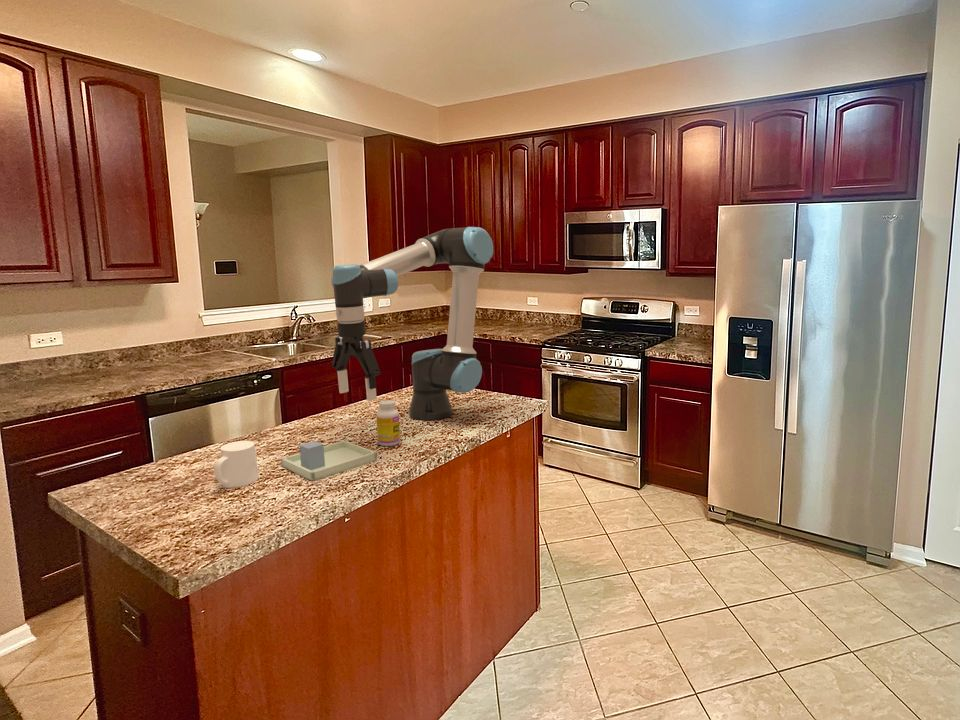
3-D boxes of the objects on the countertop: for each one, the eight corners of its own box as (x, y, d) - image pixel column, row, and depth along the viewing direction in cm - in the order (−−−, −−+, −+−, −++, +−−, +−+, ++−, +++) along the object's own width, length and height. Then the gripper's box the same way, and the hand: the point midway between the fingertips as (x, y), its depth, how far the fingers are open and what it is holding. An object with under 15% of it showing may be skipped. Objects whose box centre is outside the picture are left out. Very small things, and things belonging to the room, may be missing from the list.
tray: (344, 447, 170) (344, 440, 170) (377, 459, 159) (376, 452, 159) (281, 466, 156) (280, 458, 156) (312, 481, 145) (311, 473, 145)
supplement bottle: (395, 447, 169) (393, 405, 167) (374, 446, 171) (372, 404, 168) (403, 440, 176) (401, 399, 173) (382, 439, 177) (380, 398, 175)
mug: (240, 438, 151) (263, 441, 148) (243, 472, 153) (266, 476, 149) (202, 453, 140) (226, 457, 137) (206, 489, 142) (230, 494, 139)
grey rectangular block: (301, 466, 154) (299, 445, 153) (316, 461, 157) (314, 440, 156) (309, 470, 151) (308, 448, 150) (325, 465, 154) (323, 444, 153)
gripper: (314, 320, 164) (322, 392, 168) (366, 326, 147) (372, 406, 151) (337, 317, 169) (344, 386, 174) (389, 322, 152) (395, 399, 157)
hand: (357, 396), depth 163 cm, fingers open, 13 cm apart
